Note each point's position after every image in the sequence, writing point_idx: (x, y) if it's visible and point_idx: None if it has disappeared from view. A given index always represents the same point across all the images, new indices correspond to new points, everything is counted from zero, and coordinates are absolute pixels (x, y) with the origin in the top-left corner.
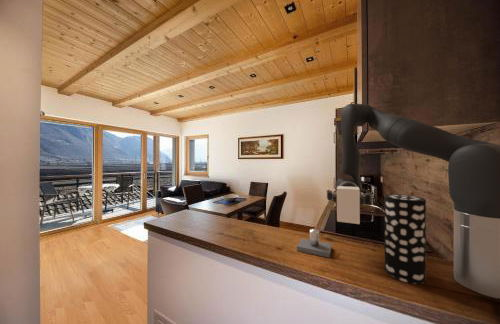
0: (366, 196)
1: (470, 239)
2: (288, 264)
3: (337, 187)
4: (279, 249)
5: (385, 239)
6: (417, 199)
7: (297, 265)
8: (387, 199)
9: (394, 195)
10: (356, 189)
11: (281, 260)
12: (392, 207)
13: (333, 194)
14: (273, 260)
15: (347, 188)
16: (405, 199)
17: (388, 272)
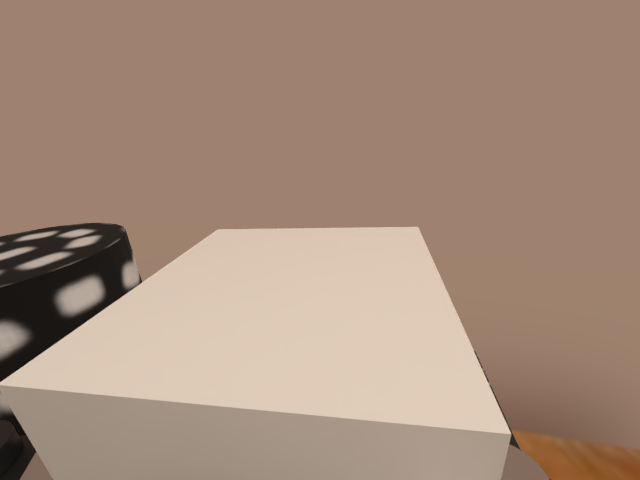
0: (20, 448)
1: None
2: (550, 442)
3: (430, 265)
4: None
5: None
6: (12, 239)
7: (519, 447)
8: (123, 250)
9: None
10: (238, 230)
11: (597, 462)
12: (138, 272)
13: (531, 477)
14: (620, 450)
15: (306, 244)
16: (81, 230)
17: None
